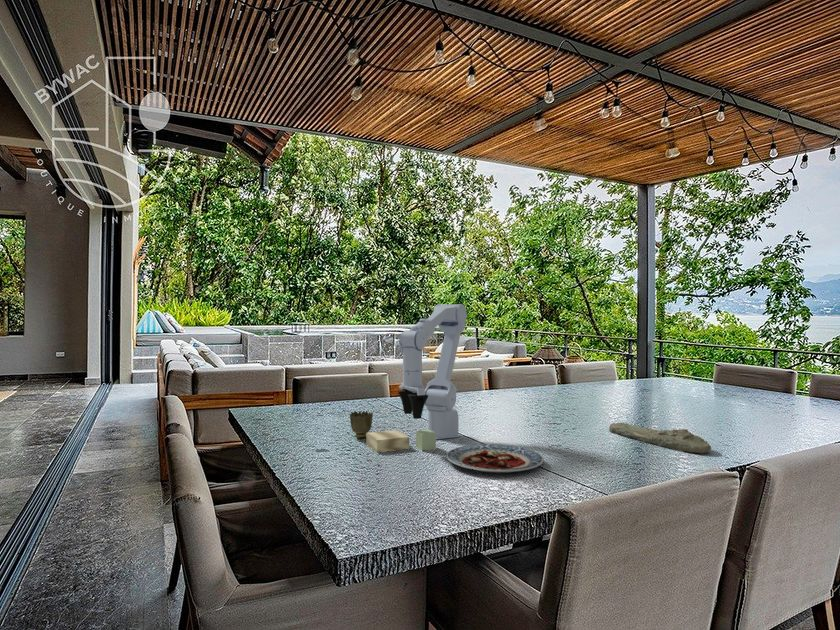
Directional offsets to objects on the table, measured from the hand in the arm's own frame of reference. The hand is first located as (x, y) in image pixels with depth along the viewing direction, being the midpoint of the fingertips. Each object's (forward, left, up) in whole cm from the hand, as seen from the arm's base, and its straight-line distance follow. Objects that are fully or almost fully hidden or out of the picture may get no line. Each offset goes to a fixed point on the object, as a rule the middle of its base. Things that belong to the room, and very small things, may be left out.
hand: (412, 416), depth 158 cm
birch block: (+7, -4, -10) cm, 12 cm away
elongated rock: (-73, +22, -10) cm, 77 cm away
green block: (-3, +2, -10) cm, 10 cm away
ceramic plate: (-14, +23, -10) cm, 29 cm away
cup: (+11, -18, -10) cm, 23 cm away
